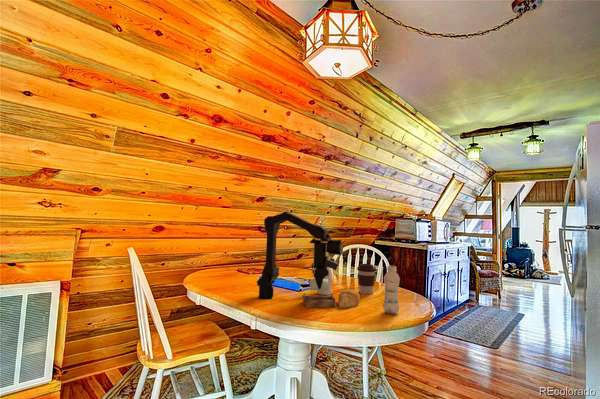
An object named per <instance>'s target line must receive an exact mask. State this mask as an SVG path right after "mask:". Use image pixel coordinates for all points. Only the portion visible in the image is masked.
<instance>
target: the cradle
mask: <svg viewBox="0 0 600 399" xmlns="http://www.w3.org/2000/svg"><path fill="white" fill-rule="evenodd" d="M302 304H303V308H336V297H335V295H334V294H333V293H331V294H330V295H306V293H305V292H304V293H303V294H302Z"/></svg>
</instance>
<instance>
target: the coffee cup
mask: <svg viewBox="0 0 600 399" xmlns="http://www.w3.org/2000/svg"><path fill="white" fill-rule="evenodd" d="M356 268H357V269H356V270H357V272H358V273H357V279H358V280H357V281H358V282H357V284H358V291H359V292H358V293H359V294H363V295H373V293H374V287H375V278H376V272H377V267H375V266H374V264H372V263H371V264H370V263H360V264H359V266H357V267H356Z"/></svg>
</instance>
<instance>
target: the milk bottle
mask: <svg viewBox="0 0 600 399" xmlns="http://www.w3.org/2000/svg"><path fill="white" fill-rule="evenodd" d="M326 256H327V259H329V260H330V254H326ZM326 269H327V270H328V271H329V275H328V276H326V277H324V279H328V291H323V290H316V293H317V294H318V295H320V296H330V295H331V294H332V289H333V288H332V284H333V283H332V282H333V271H332V270H333V269H332V268H329V267H327V268H326Z"/></svg>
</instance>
